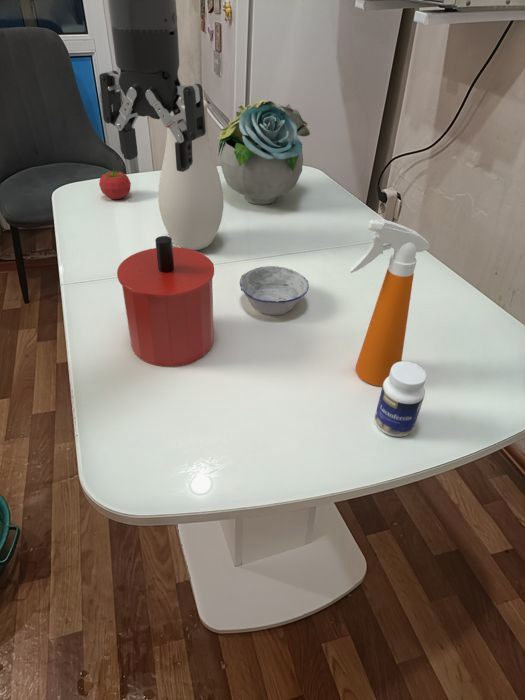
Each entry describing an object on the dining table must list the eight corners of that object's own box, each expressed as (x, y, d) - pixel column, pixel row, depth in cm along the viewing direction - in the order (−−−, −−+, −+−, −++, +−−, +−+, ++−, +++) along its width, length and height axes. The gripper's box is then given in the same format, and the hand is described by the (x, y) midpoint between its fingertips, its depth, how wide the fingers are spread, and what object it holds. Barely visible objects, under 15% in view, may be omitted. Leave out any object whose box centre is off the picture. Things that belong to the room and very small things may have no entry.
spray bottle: (329, 359, 85) (352, 209, 69) (392, 358, 86) (429, 209, 70) (337, 388, 80) (364, 232, 63) (404, 386, 81) (448, 232, 64)
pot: (184, 376, 80) (179, 305, 72) (114, 350, 85) (101, 280, 77) (227, 331, 90) (227, 263, 82) (162, 310, 95) (156, 243, 86)
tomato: (119, 205, 131) (115, 176, 126) (95, 199, 134) (90, 170, 129) (138, 195, 137) (134, 166, 132) (114, 189, 139) (110, 161, 135)
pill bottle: (370, 431, 73) (383, 379, 67) (378, 405, 77) (391, 354, 71) (410, 443, 71) (427, 391, 65) (416, 416, 76) (433, 364, 69)
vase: (151, 242, 116) (135, 98, 97) (200, 226, 123) (195, 90, 105) (185, 266, 108) (175, 114, 89) (236, 247, 115) (236, 104, 97)
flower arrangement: (319, 193, 143) (329, 98, 128) (283, 226, 125) (291, 120, 110) (240, 176, 151) (241, 85, 136) (196, 205, 133) (192, 104, 118)
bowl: (268, 331, 91) (269, 308, 88) (225, 299, 98) (225, 277, 95) (320, 307, 97) (323, 285, 94) (276, 279, 105) (278, 258, 102)
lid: (180, 311, 72) (177, 273, 68) (97, 284, 77) (90, 247, 73) (231, 266, 82) (231, 231, 79) (155, 245, 87) (152, 211, 84)
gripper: (73, 19, 59) (96, 162, 69) (178, 31, 54) (186, 183, 64) (115, 14, 64) (131, 147, 74) (214, 25, 59) (216, 165, 69)
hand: (157, 164), depth 69 cm, fingers open, 8 cm apart
